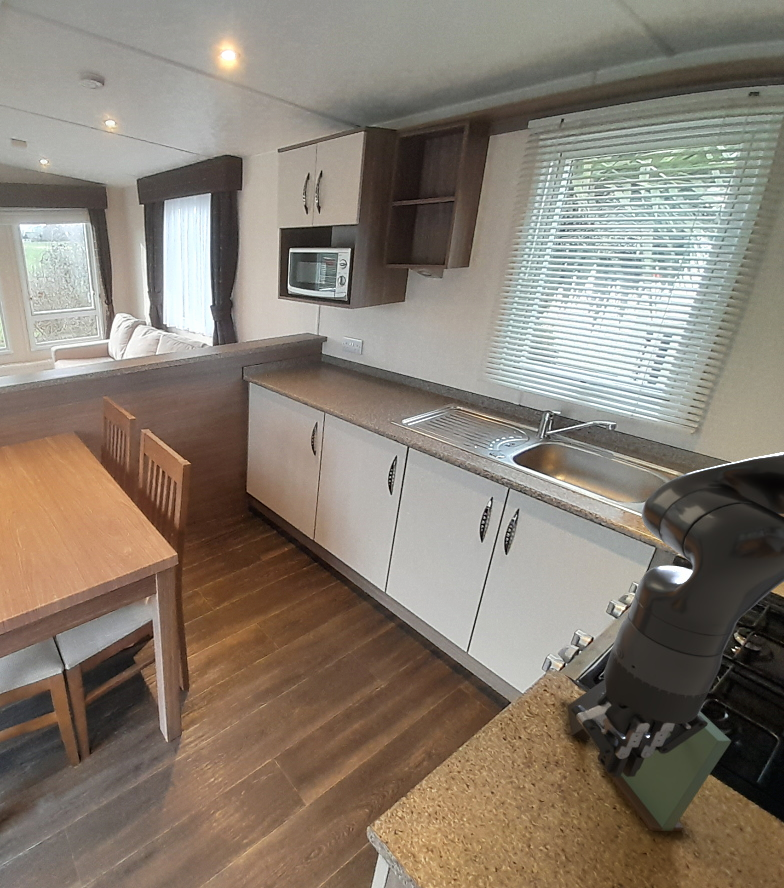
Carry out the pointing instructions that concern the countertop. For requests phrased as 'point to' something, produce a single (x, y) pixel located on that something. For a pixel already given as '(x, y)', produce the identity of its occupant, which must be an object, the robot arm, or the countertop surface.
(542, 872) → the countertop surface
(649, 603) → the robot arm
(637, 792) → the door panel
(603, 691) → the phone stand
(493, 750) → the countertop surface
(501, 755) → the countertop surface
